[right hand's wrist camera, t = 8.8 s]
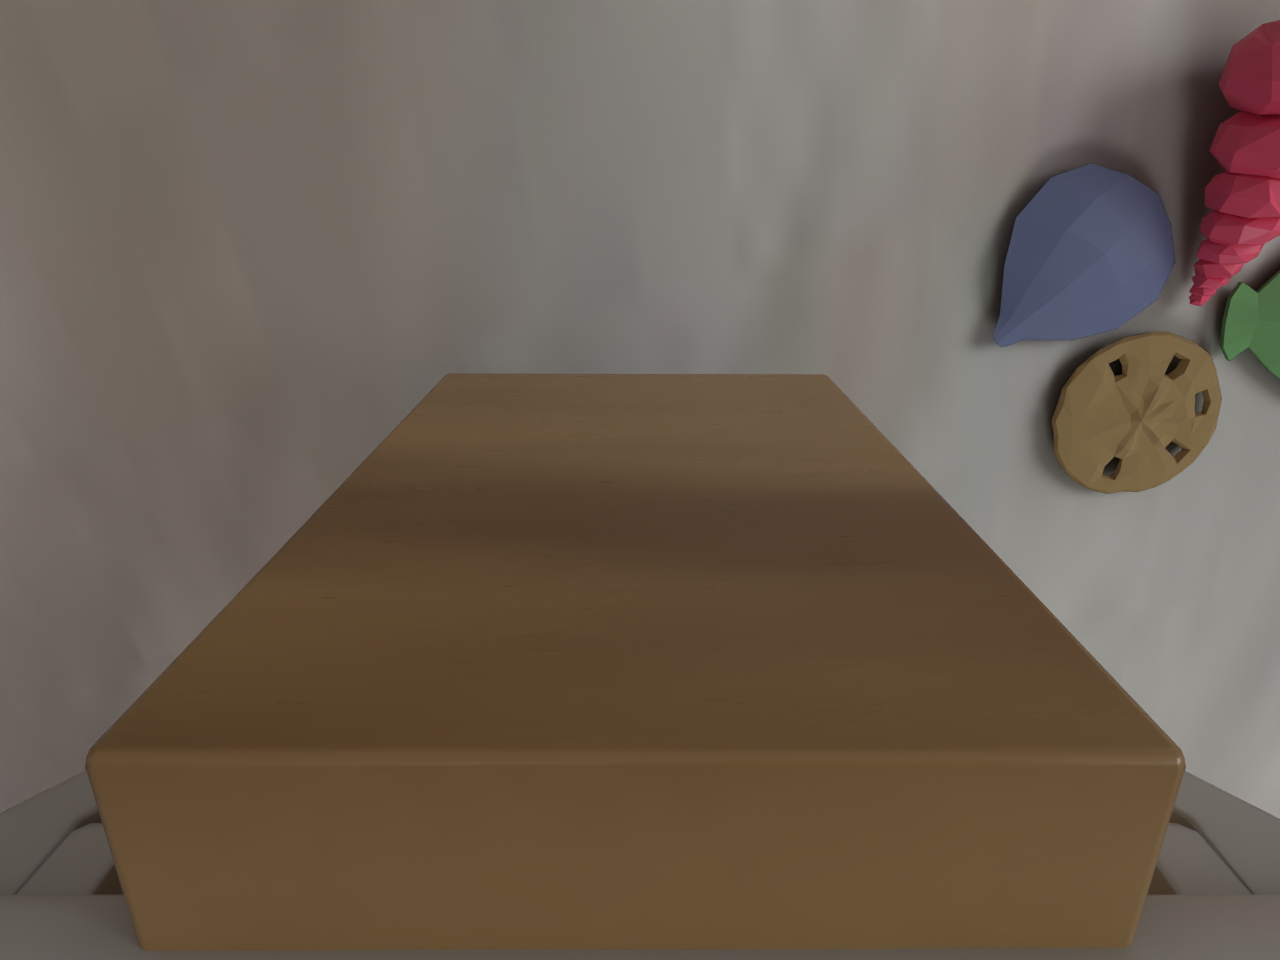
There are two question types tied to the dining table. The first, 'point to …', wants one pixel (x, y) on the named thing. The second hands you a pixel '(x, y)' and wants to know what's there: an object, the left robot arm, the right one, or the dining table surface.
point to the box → (635, 702)
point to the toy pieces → (1150, 288)
